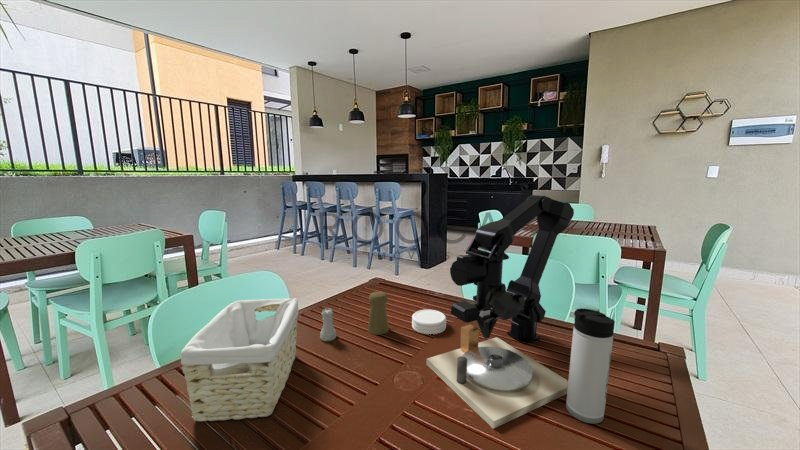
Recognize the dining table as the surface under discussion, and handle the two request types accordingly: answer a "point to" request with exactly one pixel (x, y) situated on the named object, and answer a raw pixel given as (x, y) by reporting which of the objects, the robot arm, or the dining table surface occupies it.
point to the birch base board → (494, 403)
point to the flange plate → (498, 376)
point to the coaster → (429, 322)
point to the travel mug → (589, 365)
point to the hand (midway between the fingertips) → (486, 338)
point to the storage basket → (241, 360)
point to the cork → (378, 314)
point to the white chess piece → (327, 326)
